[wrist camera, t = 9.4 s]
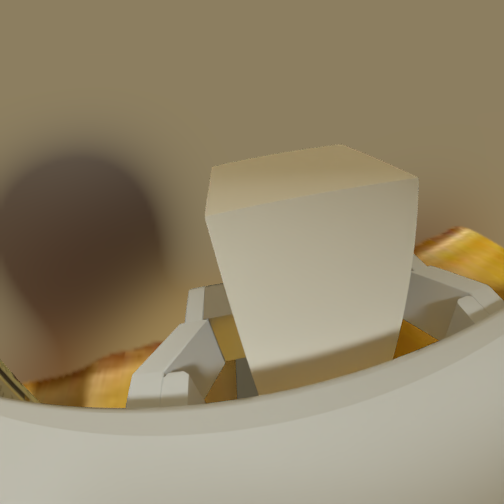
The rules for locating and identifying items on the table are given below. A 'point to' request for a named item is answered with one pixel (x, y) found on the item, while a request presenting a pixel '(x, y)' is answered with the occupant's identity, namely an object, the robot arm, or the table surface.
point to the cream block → (313, 260)
